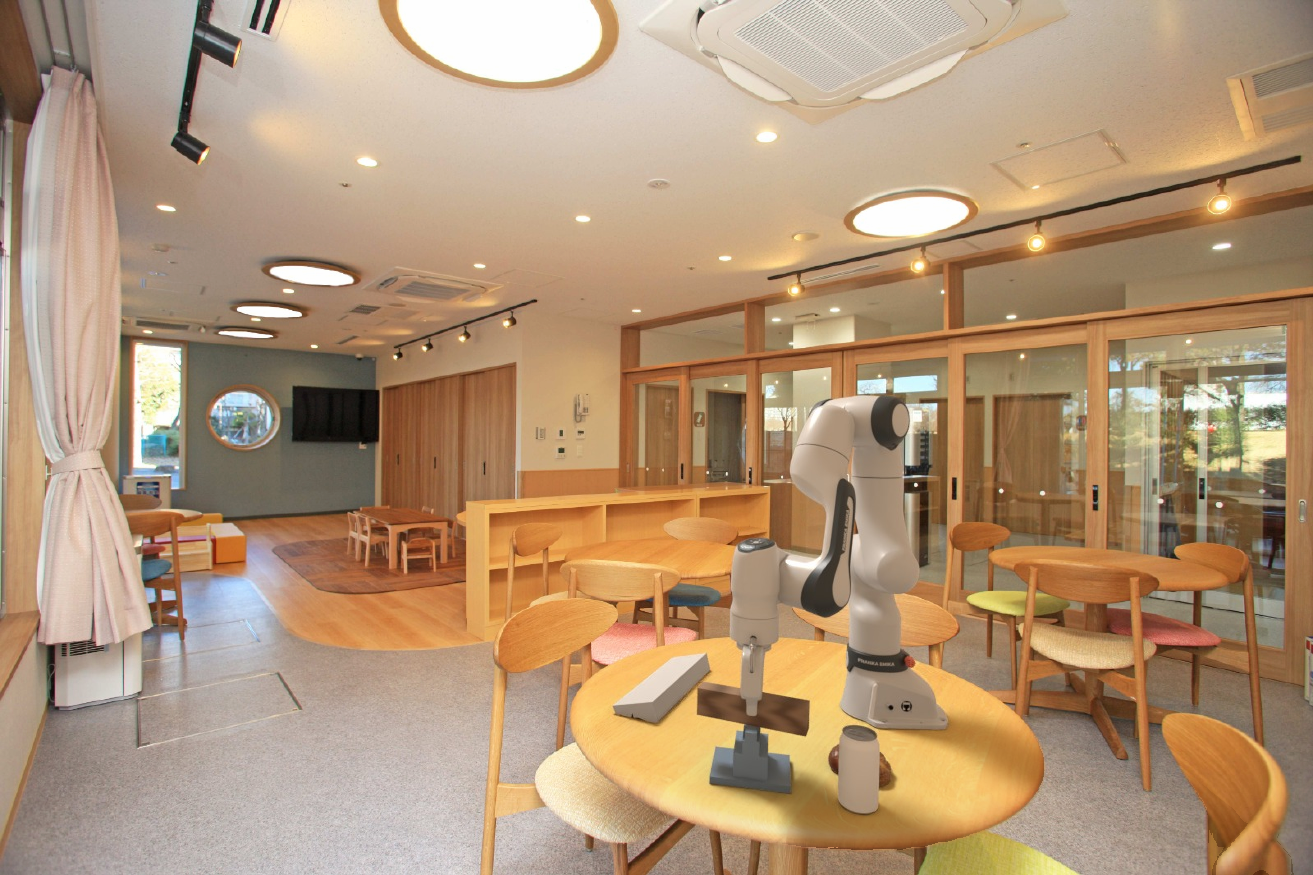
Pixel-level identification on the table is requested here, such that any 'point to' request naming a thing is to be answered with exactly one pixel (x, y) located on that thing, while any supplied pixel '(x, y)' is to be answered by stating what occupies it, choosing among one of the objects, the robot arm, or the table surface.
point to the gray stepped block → (751, 764)
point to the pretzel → (883, 765)
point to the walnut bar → (770, 709)
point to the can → (858, 769)
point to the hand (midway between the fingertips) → (752, 704)
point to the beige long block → (663, 688)
